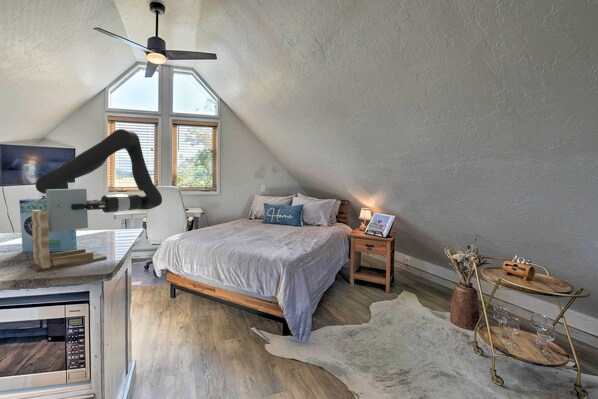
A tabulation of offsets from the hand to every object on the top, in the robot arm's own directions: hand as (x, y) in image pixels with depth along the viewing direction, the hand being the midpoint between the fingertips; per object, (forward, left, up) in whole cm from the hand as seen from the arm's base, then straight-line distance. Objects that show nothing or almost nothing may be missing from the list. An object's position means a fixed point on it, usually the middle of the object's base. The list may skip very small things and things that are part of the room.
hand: (69, 206), depth 119 cm
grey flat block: (0, -1, -9) cm, 9 cm away
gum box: (-23, -1, -22) cm, 32 cm away
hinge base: (+3, -1, -22) cm, 22 cm away
